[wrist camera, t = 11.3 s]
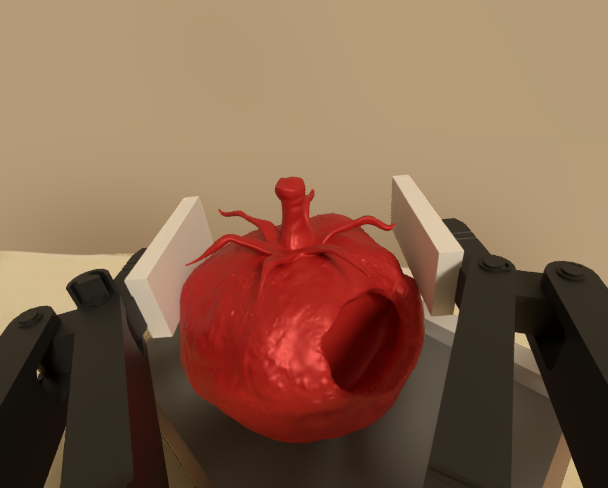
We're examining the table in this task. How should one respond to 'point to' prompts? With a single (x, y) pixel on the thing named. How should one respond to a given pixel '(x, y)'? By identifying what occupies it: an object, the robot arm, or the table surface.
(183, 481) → the table surface
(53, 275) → the table surface
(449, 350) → the tray
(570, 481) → the table surface
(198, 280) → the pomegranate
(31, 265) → the table surface
